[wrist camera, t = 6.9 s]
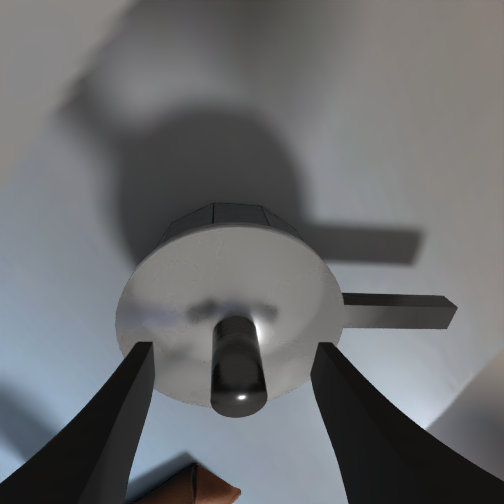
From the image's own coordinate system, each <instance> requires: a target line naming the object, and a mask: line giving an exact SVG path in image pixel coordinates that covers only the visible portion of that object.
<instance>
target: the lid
mask: <svg viewBox="0 0 504 504" xmlns="http://www.w3.org/2000/svg"><path fill="white" fill-rule="evenodd" d="M343 325H344V302H343V296H342V293H341V290H340V287H339V284H338V283H337V281H336V279H335V277H334V275H333V273H332V272H331V271H330V269H329V268H328V266H327V265H326V264H325V262H324V261H323V260H322V258H321V257H320V256H319V255H318V254H317V253H316V252H315V251H314V250H313V249H312V248H311V247H310V246H308V245H307V244H305V243H304V242H303V241H301V240H300V239H298V238H297V237H295V236H293V235H291V234H289V233H287V232H285V231H282V230H279V229H276V228H273V227H270V226H266V225H261V224H256V223H246V222H222V223H215V224H209V225H204V226H200V227H197V228H194V229H190V230H187V231H185V232H183V233H181V234H178V235H176V236H174V237H172V238H170V239H169V240H167V241H165V242H164V243H162V244H161V245H159V246H158V247H157V248H155V249H154V250H153V251H152V252H151V253H149V254H148V255H147V256H146V257H145V258H144V259H143V261H142V262H141V263H140V264H139V265H138V266H137V268H136V269H135V271H134V272H133V274H132V275H131V277H130V279H129V280H128V282H127V284H126V286H125V288H124V290H123V293H122V295H121V297H120V299H119V303H118V307H117V311H116V322H115V327H116V336H117V340H118V344H119V347H120V350H121V352H122V354H123V356H124V358H125V357H126V356H127V355H128V353H129V352H130V350H131V349H132V348H133V346H134V345H135V343H137V342H138V341H139V342H153V349H154V364H155V381H154V386H153V388H154V389H155V390H157V391H159V392H160V393H162V394H164V395H166V396H168V397H170V398H173V399H176V400H178V401H181V402H185V403H188V404H192V405H197V406H203V407H212V408H213V409H214V410H215V411H216V412H217V413H219V414H221V415H223V416H226V417H232V418H239V417H246V416H249V415H252V414H254V413H256V412H258V411H259V410H260V409H261V408H262V407H263V406H264V405H265V404H266V402H267V401H270V400H272V399H275V398H278V397H280V396H282V395H284V394H286V393H289V392H291V391H292V390H294V389H296V388H297V387H299V386H301V385H302V384H304V383H305V382H306V381H308V380H309V379H310V378H311V377H310V372H311V369H312V365H313V361H314V358H315V354H316V350H317V346H318V343H319V342H332V343H333V344H334V345H335V346H337V344H338V342H339V340H340V337H341V334H342V330H343Z"/></svg>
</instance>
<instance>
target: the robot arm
mask: <svg viewBox="0 0 504 504" xmlns="http://www.w3.org/2000/svg"><path fill="white" fill-rule="evenodd" d="M310 377H311V382H312V386H313V390H314V394H315V398H316V401H317V404H318V407H319V410H320V413H321V415H322V418H323V421H324V424H325V427H326V429H327V432H328V435H329V438H330V440H331V443H332V446H333V449H334V452H335V455H336V458H337V461H338V464H339V468H340V472H341V476H342V480H343V483H344V487H345V491H346V495H347V499H348V503H349V504H504V481H502V480H500V479H499V478H497V477H495V476H494V475H492V474H490V473H488V472H486V471H485V470H483V469H482V468H480V467H478V466H477V465H475V464H473V463H472V462H470V461H469V460H467V459H466V458H464V457H463V456H461V455H460V454H458V453H456V452H455V451H453V450H452V449H450V448H449V447H448V446H446V445H445V444H443V443H442V442H440V441H439V440H438V439H436V438H435V437H433V436H432V435H431V434H429V433H428V432H427V431H425V430H424V429H423V428H421V427H420V426H419V425H418V424H416V423H415V422H414V421H412V420H411V419H410V418H409V417H408V416H406V415H405V414H404V413H403V412H402V411H400V410H399V409H398V408H397V407H396V406H394V405H393V404H392V403H391V402H390V401H389V400H388V399H387V398H386V397H385V396H383V395H382V394H381V393H380V392H379V391H378V390H377V389H376V388H375V387H374V386H373V385H372V384H371V383H370V382H369V381H368V380H367V379H366V378H365V377H364V376H363V375H362V374H361V373H360V372H359V371H358V370H357V369H356V368H355V367H354V366H353V365H352V364H351V362H350V361H349V360H348V359H347V358H346V357H345V356H344V355H343V354H342V353H341V352H340V351H339V350H338V348H337V347H336V346H335V345H334V344H333V343H332V342H319V343H318V346H317V350H316V354H315V358H314V361H313V365H312V369H311V372H310ZM154 381H155V364H154V349H153V342H139V341H138V342H137V343H135V345H134V346H133V348H132V349H131V350H130V352H129V353H128V355H127V356H126V357H125V359H124V360H123V361H122V363H121V364H120V365H119V367H118V368H117V369H116V371H115V372H114V373H113V374H112V376H111V377H110V378H109V379H108V381H107V382H106V383H105V384H104V385H103V387H102V388H101V389H100V390H99V391H98V392H97V393H96V395H95V396H94V397H93V398H92V399H91V400H90V401H89V402H88V404H87V405H86V406H85V407H84V408H83V409H82V410H81V411H80V412H79V413H78V414H77V415H76V416H75V417H74V418H73V419H72V420H71V421H70V422H69V423H68V424H67V425H66V426H65V427H64V428H63V429H62V430H61V431H60V432H59V433H58V434H57V435H56V436H55V437H54V438H53V439H52V440H51V441H49V442H48V443H47V444H46V445H45V446H44V447H43V448H42V449H41V450H40V451H39V452H37V453H36V454H35V455H34V456H33V457H32V458H31V459H29V460H28V461H27V462H26V463H25V464H23V465H22V466H21V467H20V468H19V469H17V470H16V471H15V472H14V473H12V474H11V475H10V476H9V477H8V478H6V479H5V480H4V481H3V482H2V483H0V504H123V503H124V499H125V494H126V489H127V484H128V480H129V475H130V471H131V467H132V463H133V460H134V456H135V453H136V450H137V446H138V443H139V439H140V436H141V433H142V429H143V426H144V423H145V419H146V416H147V412H148V409H149V406H150V402H151V397H152V392H153V386H154Z"/></svg>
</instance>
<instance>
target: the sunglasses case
mask: <svg viewBox="0 0 504 504" xmlns="http://www.w3.org/2000/svg"><path fill="white" fill-rule="evenodd" d="M196 464H197V462H196V463H195V464H194V466H192V467H191V468H190V467H188V468H186V469H185V470H183V471H182V472H180V473H179V474H177V475H175V476H174V477H172V478H171V479H170V480H168V481H167V482H165V483H164V484H162V485H161V486H159V487H158V488H157V489H156V490H154V491H151V492H150V493H149V494H147V495H146V496H145V497H143V498H142V499H141V500H139V501H138V502H134V503H133V504H232V503H233V502H234V501H235V500H236V499H238V497H239V496H240V495H241V490H240V489H238V488H235V487H233V486H231V485H230V484H228V483H227V482H225V481H223V480H222V479H220V478H219V477H217V476H215V475H214V474H212V473H211V472H209V471H207V470H205V469H204V468H202V467H200V466H198V465H196Z"/></svg>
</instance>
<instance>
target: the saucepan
mask: <svg viewBox="0 0 504 504" xmlns="http://www.w3.org/2000/svg"><path fill="white" fill-rule="evenodd" d="M222 222H246V223H256V224H261V225H266V226H270V227H273V228H276V229H279V230H282V231H285V232H287V233H289V234H291V235H293V236H295V237H297V238H298V239H300V240H301V241H303V240H302V238H301V237H300V235H299V234H298V232H297V231H296V229H294V228H293V227H291V226H290V225H288V224H287V223H285V222H284V221H282V220H281V219H279V218H278V217H277V216H275V215H274V214H272V213H271V212H269V211H268V210H266V209H265V208H263V207H262V206H256V205H242V204H228V203H215V205H214V203H212V204H210V205H208V206H206V207H204V208H201V209H199V210H197V211H195V212H193V213H191V214H189V215H187V216H185V217H182V218H180V219H178V220H176V221H174V222H172V223H171V225H170V226H169V228H168V230H167V231H166V233H165V234H164V236H163V237H162V239H161V241H160V242H159V244H158V245H157V247H158V246H159V245H161V244H162V243H164V242H165V241H167V240H169V239H170V238H172V237H174V236H176V235H178V234H181V233H183V232H185V231H187V230H190V229H194V228H197V227H200V226H204V225H209V224H215V223H222ZM157 247H156V248H157ZM342 296H343V302H344V325H343V328H396V329H447V328H448V326H449V324H450V322H451V320H452V318H453V316H454V314H455V312H456V310H457V308H458V307H457V306H455V305H454V304H453V303H452V302H450V301H449V300H448V299H447V298H446V297H444V296H436V295H401V294H366V293H342Z"/></svg>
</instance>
